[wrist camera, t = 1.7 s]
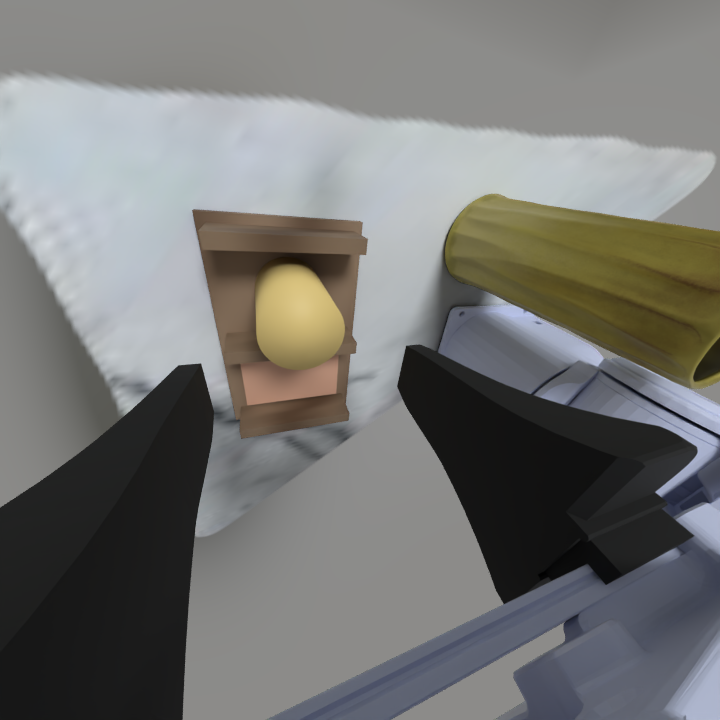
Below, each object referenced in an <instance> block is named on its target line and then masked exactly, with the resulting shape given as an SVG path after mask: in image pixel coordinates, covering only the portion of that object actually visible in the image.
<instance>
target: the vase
mask: <svg viewBox="0 0 720 720" xmlns="http://www.w3.org/2000/svg"><path fill="white" fill-rule="evenodd" d="M445 260H446V265H447V268H448V271H449V273H450V274H451V275H452V276H453V277H454V278H455V279H456V280H458V281H459V282H462V283H464V284H469V285H472V286H475V287H478V288H480V289H482V290H484V291H487V292H489V293H491V294H493V295H495V296H497V297H499V298H501V299H503V300H505V301H507V302H509V303H511V304H513V305H515V306H517V307H519V308H521V309H523V310H526V311H528V312H530V313H532V314H534V315H536V316H538V317H541V318H543V319H545V320H547V321H549V322H552V323H554V324H556V325H559V326H561V327H563V328H566V329H568V330H570V331H571V332H573V333H575V334H577V335H579V336H581V337H582V338H584V339H586V340H588V341H591V342H592V343H595V344H596V345H598V346H601V347H602V348H604V349H607V350H609V351H611V352H613V353H615V354H617V355H619V356H621V357H623V358H625V359H627V360H629V361H631V362H633V363H635V364H637V365H639V366H642V367H644V368H646V369H648V370H650V371H652V372H654V373H656V374H658V375H660V376H662V377H664V378H666V379H668V380H670V381H672V382H674V383H677V384H679V385H681V386H684V387H687V388H691V389H702V388H705V387H708V386H710V385H713V384H715V383H717V382H719V381H720V231H713V230H706V229H699V228H693V227H687V226H681V225H675V224H669V223H662V222H656V221H648V220H640V219H633V218H625V217H619V216H614V215H608V214H602V213H595V212H588V211H580V210H573V209H567V208H560V207H553V206H547V205H541V204H536V203H532V202H526V201H520V200H514V199H509V198H506V197H505V196H502V195H499V194H489V195H485V196H483V197H481V198H479V199H477V200H475V201H473V202H472V203H470V204H469V205H468V206H467V207H466V208H465V209H464V210H463V211H462V212H461V213H460V215H459V216H458V217H457V219H456V220H455V222H454V224H453V226H452V228H451V230H450V232H449V235H448V238H447V242H446V247H445Z"/></svg>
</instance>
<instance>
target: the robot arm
mask: <svg viewBox="0 0 720 720" xmlns="http://www.w3.org/2000/svg"><path fill="white" fill-rule="evenodd" d="M460 312H462V313H461V314H460ZM459 314H460V315H459ZM397 387H398V389H399V392H400V394H401V396H402V399H403V401H404V403H405V405H406V407H407V409H408V410H409V412H410V414H411V415H412V417H413V418H414V420H415V421H416V423H417V425H418V426H419V428H420V429H421V431H422V432H423V434H424V435H425V437H426V439H427V440H428V442H429V443H430V445H431V446H432V448H433V450H434V451H435V453H436V454H437V456H438V458H439V460H440V461H441V463H442V465H443V467H444V469H445V471H446V473H447V475H448V477H449V479H450V481H451V483H452V485H453V487H454V489H455V491H456V493H457V495H458V498H459V500H460V502H461V504H462V506H463V508H464V510H465V513H466V515H467V517H468V520H469V522H470V524H471V527H472V529H473V531H474V534H475V536H476V538H477V541H478V543H479V546H480V548H481V551H482V554H483V556H484V559H485V562H486V564H487V567H488V569H489V572H490V574H491V577H492V580H493V583H494V586H495V589H496V591H497V593H498V595H499V596H500V598H501V600H502V601H503V603H504V605H502V606H499V607H497V608H495V609H493V610H491V611H489V612H487V613H485V614H483V615H481V616H479V617H477V618H475V619H473V620H471V621H469V622H466V623H464V624H462V625H460V626H458V627H456V628H454V629H452V630H450V631H448V632H446V633H444V634H442V635H440V636H438V637H436V638H434V639H432V640H429V641H427V642H425V643H423V644H421V645H419V646H417V647H415V648H413V649H411V650H409V651H407V652H405V653H403V654H401V655H399V656H396V657H395V658H392V659H390V660H388V661H386V662H384V663H382V664H380V665H378V666H376V667H374V668H372V669H370V670H368V671H365V672H363V673H361V674H360V675H357V676H355V677H353V678H351V679H349V680H347V681H345V682H343V683H341V684H339V685H337V686H335V687H332V688H330V689H328V690H326V691H325V692H322V693H320V694H318V695H316V696H314V697H312V698H310V699H308V700H306V701H304V702H302V703H300V704H297V705H296V706H293V707H291V708H289V709H287V710H285V711H283V712H281V713H279V714H277V715H275V716H273V717H271V718H269V719H267V720H391V719H393V718H395V717H397V716H398V715H400V714H402V713H404V712H405V711H407V710H409V709H411V708H412V707H414V706H416V705H418V704H420V703H422V702H423V701H425V700H427V699H429V698H430V697H432V696H434V695H436V694H438V693H439V692H441V691H443V690H445V689H446V688H448V687H450V686H452V685H453V684H455V683H457V682H459V681H461V680H462V679H464V678H466V677H468V676H470V675H471V674H473V673H475V672H477V671H478V670H480V669H482V668H484V667H486V666H487V665H489V664H491V663H493V662H494V661H496V660H498V659H500V658H502V657H503V656H505V655H507V654H509V653H510V652H512V651H514V650H516V649H518V648H519V647H521V646H523V645H525V644H526V643H528V642H530V641H532V640H534V639H535V638H537V637H539V636H541V635H542V634H544V633H545V632H547V631H550V630H551V629H553V628H555V627H557V626H558V625H560V624H562V623H564V622H565V623H564V633H565V642H564V643H562V644H560V645H559V646H557V647H555V648H553V649H551V650H549V651H548V652H546V653H544V654H543V655H540V656H539V657H537V658H535V659H533V660H532V661H530V662H529V663H527V664H525V665H524V666H522V667H521V668H519V669H518V670H516V671H515V672H514V677H513V678H514V680H515V682H516V684H517V686H518V687H519V689H520V691H521V693H522V695H523V697H524V699H525V701H524V702H523V703H521V704H519V705H518V706H516V707H514V708H513V709H511V710H509V711H508V712H506V713H505V714H503V715H501V716H499V717H498V718H496V719H494V720H720V405H719V404H717V403H715V402H713V401H711V400H709V399H707V398H705V397H703V396H702V395H699V394H698V393H696V392H693V391H692V390H690V389H688V388H686V387H684V386H681V385H679V384H677V383H674V382H672V381H670V380H668V379H666V378H664V377H662V376H660V375H658V374H656V373H654V372H652V371H650V370H648V369H646V368H644V367H642V366H639V365H637V364H635V363H633V362H631V361H629V360H627V359H625V358H623V357H620V358H613V359H608V358H606V359H604V358H603V357H602V356H601V354H600V353H599V352H598V351H597V350H596V349H595V348H594V347H592V346H591V345H589V344H587V343H586V342H584V341H582V340H580V339H578V338H576V337H574V336H572V335H570V334H568V333H566V332H564V331H562V330H560V329H558V328H556V327H554V326H552V325H551V324H549V323H547V322H545V321H543V320H541V319H539V318H537V317H535V315H534V314H532V313H530V312H528V311H526V310H523V309H521V308H519V307H517V306H515V305H492V306H465V307H454V308H453V309H452V310H451V311H450V314H449V317H448V320H447V324H446V327H445V330H444V334H443V337H442V340H441V344H440V347H439V350H438V352H436V351H434V350H432V349H429V348H427V347H425V346H422V345H410V346H406V349H405V354H404V358H403V363H402V367H401V372H400V376H399V381H398V385H397ZM213 419H214V410H213V406H212V403H211V399H210V395H209V392H208V388H207V384H206V380H205V377H204V373H203V369H202V365H201V364H191V365H179V366H178V367H176V368H175V369H174V370H173V371H172V372H171V373H170V374H169V375H168V376H167V377H166V378H165V379H164V380H163V381H162V382H161V383H160V384H159V385H158V386H157V387H156V388H155V389H153V390H152V391H151V392H150V393H149V394H148V395H147V396H146V397H145V398H144V399H143V400H142V401H141V402H140V403H138V404H137V405H136V406H135V407H134V408H133V409H132V410H131V411H130V412H129V413H127V414H126V415H125V416H124V417H123V418H121V419H120V420H119V421H118V422H117V423H116V424H115V425H113V426H112V427H111V428H110V429H109V430H108V431H106V432H105V433H104V434H103V435H101V436H100V437H99V438H98V439H97V440H95V441H94V442H93V443H92V444H90V445H89V446H88V447H86V448H85V449H84V450H83V451H81V452H80V453H79V454H77V455H76V456H75V457H73V458H72V459H71V460H69V461H68V462H66V463H65V464H64V465H62V466H61V467H60V468H58V469H57V470H55V471H54V472H53V473H51V474H50V475H49V476H47V477H46V478H44V479H43V480H41V481H40V482H39V483H37V484H36V485H34V486H33V487H31V488H29V489H28V490H26V491H25V492H23V493H22V494H20V495H19V496H18V497H16V498H14V499H13V500H11V501H10V502H8V503H7V504H5V505H4V506H2V507H1V508H0V720H182V719H183V716H182V715H183V692H184V673H185V652H186V636H187V621H188V604H189V592H190V580H191V568H192V557H193V547H194V536H195V526H196V519H197V513H198V507H199V502H200V497H201V492H202V487H203V483H204V478H205V473H206V468H207V463H208V458H209V453H210V448H211V443H212V435H213Z"/></svg>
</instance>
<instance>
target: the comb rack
mask: <svg viewBox="0 0 720 720" xmlns="http://www.w3.org/2000/svg"><path fill="white" fill-rule="evenodd" d="M192 211H193V216H194V221H195V226H196V230H197V235H198V240H199V245H200V249H201V254H202V259H203V264H204V268H205V273H206V278H207V283H208V288H209V292H210V297H211V302H212V307H213V311H214V316H215V321H216V326H217V330H218V335H219V340H220V345H221V349H222V354H223V359H224V364H225V368H226V373H227V378H228V383H229V387H230V392H231V397H232V402H233V406H234V411H235V416H236V420H238V419H240V435H241V439H242V438H248V437H254V436H260V435H266V434H272V433H278V432H283V431H289V430H295V429H301V428H307V427H313V426H319V425H325V424H331V423H336V422H342V421H348V420H349V411H348V409H347V406H346V404H345V403H346V395H347V384H348V373H349V363H350V354H354V353H356V345H357V343H356V341H355V340H354V338H353V336H352V330H353V320H354V309H355V298H356V287H357V277H358V266H359V255H366V251H367V241H368V239H366V238H365V237H363V236H361V234H362V222H360V221H348V220H334V219H320V218H306V217H292V216H278V215H265V214H251V213H237V212H223V211H209V210H195V209H194V210H192ZM280 257H293V258H297V259H300V260H302V261H304V262H305V263H307V264H308V265H309V266H310V267H311V268H312V269H313V270H314V271H315V273H316V274H317V276H318V278H319V279H320V281H321V282H322V284H323V286H324V287H325V289H326V290H327V292H328V293H329V295H330V297H331V298H332V300H333V301H334V303H335V305H336V306H337V308H338V309H339V311H340V312H341V315H342V317H343V320H344V325H345V334H344V338H343V342H342V344H341V346H340V348H339V349H338V351H337V352H336V353H335V355H334V356H333V357H332V358H330V359H329V360H328V361H326V362H325V363H323V364H321V365H319V366H317V367H314V368H310V369H305V370H292V369H286V368H283V367H280V366H278V365H276V364H274V363H273V362H271V361H270V360H269V359H268V358H267V357H266V356H265V355H264V354H263V352H262V351H261V349H260V347H259V345H258V342H257V335H256V304H255V281H256V277H257V275H258V273H259V271H260V270H261V268H262V267H263V266H264V265H265V264H266V263H268V262H269V261H271V260H273V259H276V258H280Z"/></svg>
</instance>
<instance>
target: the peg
mask: <svg viewBox="0 0 720 720" xmlns="http://www.w3.org/2000/svg"><path fill="white" fill-rule="evenodd" d="M255 304H256V335H257V342H258V345H259V347H260V349H261V351H262V352H263V354H264V355H265V356H266V357H267V358H268V359H269V360H270V361H271V362H273V363H274V364H276V365H278V366H280V367H283V368H286V369H292V370H305V369H310V368H314V367H317V366H319V365H321V364H323V363H325V362H326V361H328V360H329V359H330V358H332V357H333V356H334V355H335V353H336V352H337V351H338V349H339V348H340V346H341V344H342V342H343V338H344V334H345V325H344V320H343V317H342V315H341V312H340V311H339V309H338V308H337V306H336V305H335V303H334V301H333V300H332V298H331V297H330V295H329V293H328V292H327V290H326V289H325V287H324V286H323V284H322V282H321V281H320V279H319V278H318V276H317V274H316V273H315V271H314V270H313V269H312V268H311V267H310V266H309V265H308V264H307V263H305V262H304V261H302V260H300V259H297V258H293V257H280V258H276V259H273V260H271V261H269V262H268V263H266V264H265V265H264V266H263V267H262V268H261V270H260V271H259V273H258V275H257V277H256V281H255Z"/></svg>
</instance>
